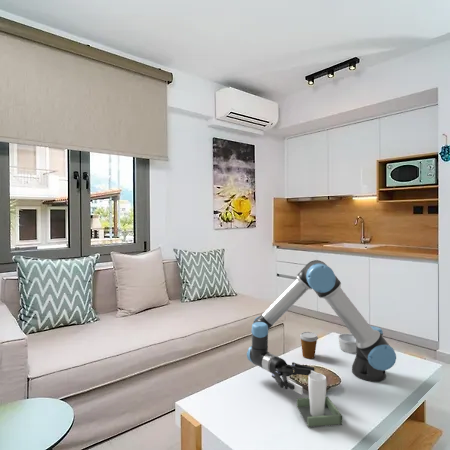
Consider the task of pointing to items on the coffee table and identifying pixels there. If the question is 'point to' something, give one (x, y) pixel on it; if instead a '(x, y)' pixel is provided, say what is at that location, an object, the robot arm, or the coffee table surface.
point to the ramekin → (347, 343)
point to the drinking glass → (317, 393)
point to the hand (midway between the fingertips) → (313, 385)
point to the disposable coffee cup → (308, 344)
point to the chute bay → (329, 419)
